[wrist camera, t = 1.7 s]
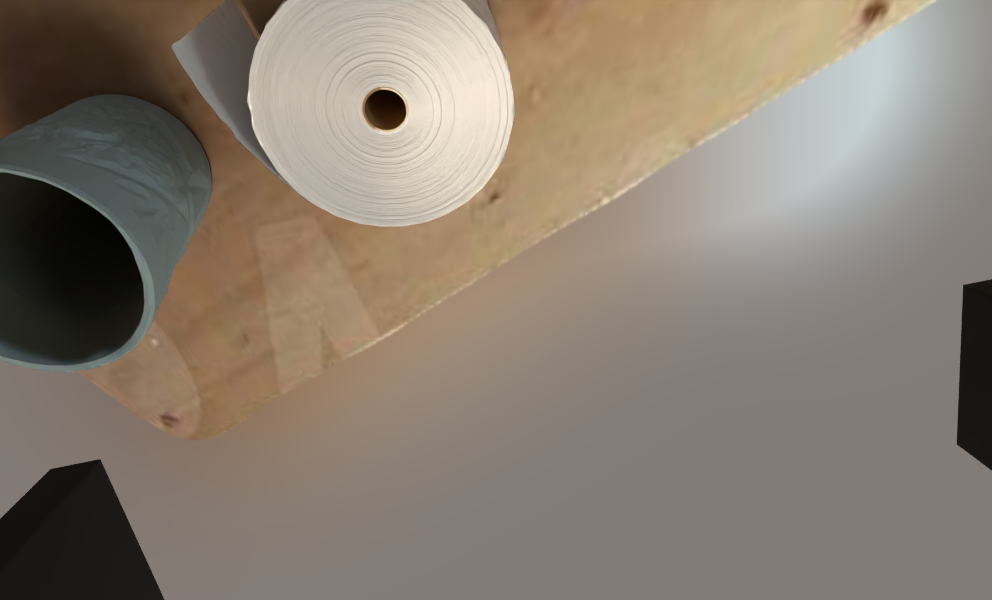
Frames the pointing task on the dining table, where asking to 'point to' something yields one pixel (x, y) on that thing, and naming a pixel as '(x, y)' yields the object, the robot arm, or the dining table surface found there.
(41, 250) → the embossed green cup
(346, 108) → the toilet tissue
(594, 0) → the dining table surface
